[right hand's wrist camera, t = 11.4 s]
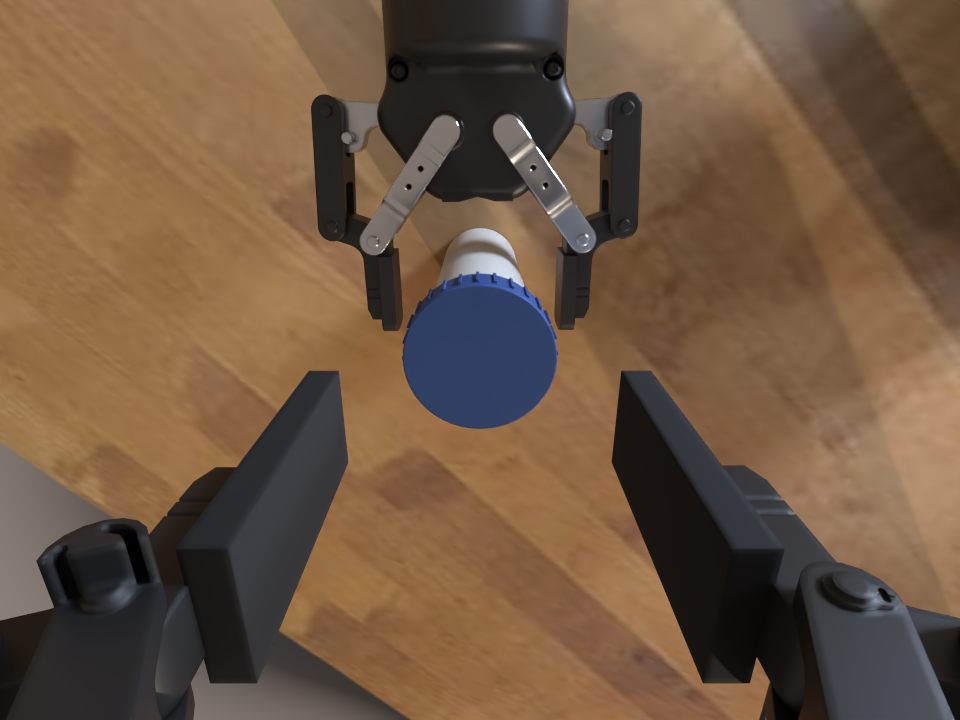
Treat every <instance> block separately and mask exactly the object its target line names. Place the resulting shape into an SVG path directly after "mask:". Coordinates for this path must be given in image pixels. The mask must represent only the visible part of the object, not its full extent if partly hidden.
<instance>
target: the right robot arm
mask: <svg viewBox="0 0 960 720" xmlns="http://www.w3.org/2000/svg"><path fill="white" fill-rule="evenodd" d="M347 464H348V455H347V446H346V436H345V427H344V417H343V408H342V398H341V389H340V379H339V371H309V372H308V373H307V374H306V376H305V377H304V378H303V380H302V381H301V382H300V384H299V385H298V386H297V388H296V389H295V390H294V392H293V393H292V394H291V396H290V397H289V398H288V400H287V401H286V402H285V404H284V405H283V406H282V408H281V409H280V410H279V412H278V413H277V414H276V416H275V417H274V418H273V420H272V421H271V422H270V424H269V425H268V426H267V428H266V429H265V430H264V432H263V433H262V434H261V436H260V437H259V438H258V440H257V441H256V442H255V444H254V445H253V446H252V448H251V449H250V450H249V452H248V453H247V454H246V456H245V457H244V458H243V460H242V461H241V462H240V464H239V465H238V466H237V467H216V468H214V469H213V470H211V471H210V472H208V473H207V474H205V475H203V476H202V477H200V478H199V479H197V480H196V481H194V482H193V483H192V484H191V486H190V487H189V488H188V489H187V490H186V492H185V493H184V494H183V495H182V496H181V497H180V499H179V502H176V503H175V505H174V506H173V507H172V508H171V509H170V510H169V512H168V515H167V516H164V518H163V519H162V520H161V521H160V522H159V523H158V525H157V526H156V527H155V528H154V529H153V531H152V532H151V533H150V534H148V530H147V527H146V526H145V525H143V524H142V523H141V522H139V521H138V520H132V519H126V518H120V519H111V520H103V521H100V522H97V523H93V524H90V525H86V526H83V527H81V528H79V529H77V530H75V531H73V532H71V533H69V534H67V535H64V536H63V537H62V538H60V539H59V540H57V541H56V542H55V543H53V544H52V545H50V546H49V547H48V548H47V549H46V550H45V551H44V552H43V553H42V555H41V556H40V557H39V558H38V560H37V564H38V566H39V569H40V572H41V574H42V577H43V579H44V582H45V584H46V587H47V590H48V592H49V595H50V598H51V600H52V603H53V605H54V608H52V609H49V610H45V611H40V612H36V613H32V614H27V615H23V616H19V617H14V618H10V619H6V620H1V621H0V720H193V717H194V707H195V703H194V696H193V691H192V687H191V681H192V679H193V677H194V675H195V674H196V672H197V670H198V668H199V666H200V664H201V662H202V661H203V659H204V661H205V664H206V669H207V672H208V676H209V680H210V683H257V682H258V679H259V677H260V675H261V672H262V670H263V667H264V665H265V662H266V660H267V658H268V655H269V653H270V650H271V648H272V646H273V643H274V641H275V638H276V636H277V633H278V631H279V629H280V626H281V624H282V621H283V619H284V617H285V614H286V612H287V609H288V607H289V604H290V602H291V600H292V597H293V595H294V592H295V590H296V588H297V585H298V583H299V580H300V578H301V575H302V573H303V571H304V568H305V566H306V563H307V561H308V558H309V556H310V554H311V551H312V549H313V546H314V544H315V542H316V539H317V537H318V534H319V532H320V529H321V527H322V525H323V522H324V520H325V517H326V515H327V512H328V510H329V508H330V505H331V503H332V500H333V498H334V496H335V493H336V491H337V488H338V486H339V483H340V481H341V479H342V476H343V474H344V471H345V469H346V467H347ZM612 464H613V467H614V469H615V471H616V474H617V476H618V479H619V481H620V483H621V486H622V488H623V491H624V493H625V496H626V498H627V500H628V503H629V505H630V508H631V510H632V513H633V515H634V517H635V520H636V522H637V525H638V527H639V529H640V532H641V534H642V537H643V539H644V542H645V544H646V546H647V549H648V551H649V554H650V556H651V558H652V561H653V563H654V566H655V568H656V571H657V573H658V575H659V578H660V580H661V583H662V585H663V588H664V590H665V592H666V595H667V597H668V600H669V602H670V604H671V607H672V609H673V612H674V614H675V617H676V619H677V621H678V624H679V626H680V629H681V631H682V634H683V636H684V638H685V641H686V643H687V646H688V648H689V650H690V653H691V655H692V658H693V660H694V663H695V665H696V667H697V670H698V672H699V675H700V677H701V679H702V682H703V683H750V680H751V676H752V673H753V669H754V665H755V661H756V657H757V658H758V660H759V662H760V663H761V665H762V667H763V669H764V671H765V673H766V674H767V676H768V678H769V680H770V683H769V687H768V691H767V694H766V698H765V701H764V705H763V708H762V712H761V716H760V719H759V720H960V618H956V617H952V616H948V615H943V614H939V613H935V612H930V611H926V610H921V609H917V608H913V607H909V606H906V605H905V604H904V603H903V602H902V600H901V599H900V597H899V596H898V594H897V593H896V592H895V591H894V590H892V589H891V588H890V587H889V586H888V585H886V584H885V583H884V582H883V581H881V580H880V579H878V578H876V577H875V576H873V575H871V574H869V573H867V572H865V571H863V570H862V569H859V568H855V567H852V566H849V565H846V564H843V563H838V562H836V561H835V560H834V559H833V557H832V556H831V555H830V554H829V553H828V551H827V550H826V549H825V548H824V547H823V546H822V544H821V543H820V542H819V541H818V540H817V539H816V537H815V536H814V535H813V534H812V533H811V532H810V530H809V529H808V528H807V527H806V526H805V524H804V523H803V522H802V521H801V520H800V519H799V517H798V516H797V515H794V514H793V510H792V509H791V508H790V507H789V506H788V505H787V503H786V502H785V501H784V500H781V496H780V495H779V494H778V493H777V492H776V490H775V489H774V488H773V487H772V486H771V485H770V483H769V482H768V481H767V480H766V479H764V478H763V477H761V476H760V475H758V474H757V473H755V472H753V471H752V470H750V469H749V468H747V467H746V466H722V465H721V464H720V462H719V461H718V460H717V458H716V457H715V456H714V454H713V453H712V452H711V450H710V449H709V448H708V446H707V445H706V444H705V442H704V441H703V440H702V438H701V437H700V436H699V434H698V433H697V432H696V430H695V429H694V428H693V426H692V425H691V424H690V422H689V421H688V420H687V418H686V417H685V416H684V414H683V413H682V412H681V410H680V409H679V408H678V406H677V405H676V404H675V402H674V401H673V400H672V398H671V397H670V396H669V394H668V393H667V392H666V390H665V389H664V388H663V386H662V385H661V384H660V382H659V381H658V380H657V378H656V377H655V376H654V374H653V373H652V372H651V371H621V379H620V389H619V398H618V408H617V417H616V427H615V436H614V446H613V455H612Z"/></svg>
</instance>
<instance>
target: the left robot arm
mask: <svg viewBox="0 0 960 720" xmlns="http://www.w3.org/2000/svg"><path fill="white" fill-rule="evenodd" d="M568 1H569V0H382V11H383V26H384V41H385V56H386V73H387V76H386V84H385V89H384V92H383V95H382V97H381V99H380V102H379V103H374V102H356V101H344V100H342V99H339V98H335V97H332V96H329V95H320V96H318V97H316V98H315V99H314V101H313V103H312V106H311V114H312V131H313V148H314V165H315V182H316V199H317V215H318V229H319V232H320V234H321V235H322V237H323V238H325V239H326V240H329V241H340V242H343V243H345V244H348V245H351V246H354V247H355V248H357V249H358V250H359V251H360V253H361V254H362V256H363V259H364V268H365V279H366V289H367V290H366V291H367V302H368V310H369V312H370V314H371V316H372V318H373V319H382V326H383V330H384V331H398V330H399V328H400V326H401V324H402V320H403V309H402V294H401V279H400V263H399V248H393V239H394V238H395V236H396V235H397V233H398V232H399V230H400V229H401V227H402V226H403V224H404V223H405V221H406V220H407V218H408V217H409V216H410V214H411V213H412V211H413V210H414V209H415V207H416V206H417V204H418V203H419V201H420V200H421V198H422V197H423V195H424V194H425V192H426V191H427V192H428V193H429V194H431V195H432V196H434V197H436V198H438V199H442V202H460V201H463V200H467V199H470V198H474V197H481V198H485V199H489V200H493V201H513V199H514V198H517V197H519V196H521V195H523V194H524V193H525V192H527V191H528V190H529V191H530V192H531V193H532V195H533V196H534V198H535V199H536V200H537V202H538V203H539V205H540V206H541V207H542V209H543V210H544V211H545V213H546V214H547V216H548V217H549V218H550V220H551V221H552V223H553V224H554V225H555V227H556V228H557V230H558V231H559V232H560V234H561V235H562V247H557V264H556V288H555V322H556V324H557V327H558V329H559V330H573V329H574V325H575V318H584V316H585V314H586V312H587V310H588V308H589V294H590V279H591V263H592V256H593V253H594V252H595V250H596V249H597V248H598V247H599V246H600V245H602V244H604V243H607V242H610V241H612V240H615V239H618V238H620V239H626V238H629V237H631V236H632V235H633V234H634V233H635V231H636V229H637V226H638V202H639V174H640V146H641V118H642V103H641V100H640V98H639V97H638V95H636V94H635V93H632V92H625V93H619V94H617V95H614V96H612V97H611V98H599V99H586V100H573V98H572V95H571V93H570V91H569V88H568V85H567V80H566V48H567V25H568ZM574 124H576V125H579V126H580V127H581V128H582V129H583V130H584V132H585V134H586V140H587V143H588V145H589V146H590V147H591V148H593V149H596V150H600V212H597V213H594V214H592V215H589V216H586V217H584V216H583V214H582V213H581V211H580V210H579V208H578V207H577V206H576V204H575V203H574V201H573V199H572V197H571V195H570V194H569V192H568V191H567V189H566V188H565V187H564V185H563V184H562V182H561V181H560V179H559V178H558V176H557V175H556V173H555V172H554V171H553V169H552V168H551V166H550V165H549V163H548V162H549V161H550V160H551V158H552V157H553V155H554V154H555V152H556V151H557V150H558V148H559V147H560V145H561V144H562V143H563V141H564V140H565V138H566V137H567V136H568V134H569V133H570V131H571V130H572V128H573V126H574ZM376 127H380V129H381V131H382V133H383V134H384V135H385V137H386V138H387V139H388V141H389V142H390V143H391V145H392V146H393V147H394V149H395V150H396V151H397V153H398V154H399V156H400V157H401V158H402V160H403V161H404V162H405V164H406V165H405V166H404V168H403V169H402V171H401V173H400V174H399V176H398V177H397V179H396V180H395V182H394V183H393V185H392V186H391V188H390V189H389V191H388V192H387V194H386V196H385V197H384V199H383V201H382V203H381V205H380V207H379V208H378V210H377V211H376V213H375V214H374V216H373V217H372V219H370V218H367V217H364V216H361V215H358V214H356V189H355V159H354V153H356V152H360V151H362V150H364V149H365V147H366V146H367V143H368V137H369V134H370V132H371V131H372V130H373V129H374V128H376Z"/></svg>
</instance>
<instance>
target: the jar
mask: <svg viewBox="0 0 960 720" xmlns="http://www.w3.org/2000/svg"><path fill="white" fill-rule="evenodd" d="M476 272H479V274H492V275H493V273H496V275H497V276H501V277H504V278H507V279H509V278H512V279H513V282H515V283H517V284H519V285H520V286H522V287H524V284H523V281H522V277H521V274H520V271H519V268H518V264H517V261H516V258H515V255H514V251H513V249H512V247H511V245H510V244H509V242H508V241H507V240H506V239H505V238H504V237H503V236H502V235H500V234H499V233H497V232H495V231H493V230H490V229H485V228H475V229H470V230H467V231H465V232H463V233H461V234H460V235H458V236H457V237H456V238H455V239H454V240H453V241H452V242H451V244H450V245H449V247H448V249H447V252H446V255H445V258H444V261H443V264H442V267H441V271H440V274H439V277H438V280H437V284H436V287H435V288H437V287H438V286H440V285H441V284H442V283H443V281H444V280H446V281H449V280H451V279H453V278H456V277H459V274H462V276H463V275H468V274H476Z"/></svg>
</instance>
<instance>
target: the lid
mask: <svg viewBox="0 0 960 720" xmlns="http://www.w3.org/2000/svg"><path fill="white" fill-rule="evenodd" d="M550 323H551V321H550V318H549V316H548V313H547V311H546V310H545V311H544V310H543V309H542V307H541V304H540V301H539V299H538V298H537V297H536V298H534V296H533V295H532V294H531V293H529V292H528V289H527V287H526V286H524V287H522V286H520V285H519V284H517V283H515V282H513V279H512V278H509V279H507V278H504V277H501V276H497V275H496V273H493V275H492V274H479V272H476V274H468V275H463V276H462V274H459V277H456V278H453V279H451V280H449V281H446V280H444V281H443V283H442V284H441V285H440V286H438V287H437V288H435V289H434V290H432V289H430V290H429V293H428V295H427V296H426V298H425V299H424V300H423V301H419V303H418V305H417V308H416V310H415V315H411V318H410V320H409V323H408V325H407V328H409V330H407V332H406V334H405V337H404V340H403V344H404V348H403V356H402V360H403V366H404V371H405V375H406V379H407V381H408V384H409V386H410V388H411V390H412V391H413V393H414V395H415V396H416V397H417V399H418V400H419V401H420V403H421V404H422V405H423V406H424V407H425V408H426V409H428V410H429V411H430V412H431V413H433V414H434V415H435V416H437V417H439V418H441V419H442V420H444V421H447V422H449V423H451V424H454V425H458V426H461V427H467V428H476V429H484V428H493V427H499V426H502V425H506V424H509V423H511V422H513V421H516V420H518V419H519V418H521V417H523V416H525V415H526V414H527V413H529V412H530V411H531V410H532V409H533V408H534V407H536V406H537V405H538V404H539V402H540V401H541V400H542V399H543V397H544V396H545V395H546V393H547V391H548V390H549V388H550V386H551V384H552V381H553V379H554V375H555V371H556V365H557V355H558V351H557V348H556V342H555V339H557V338H556V335H555V332H554V330H553V327H552V325H550Z"/></svg>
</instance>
